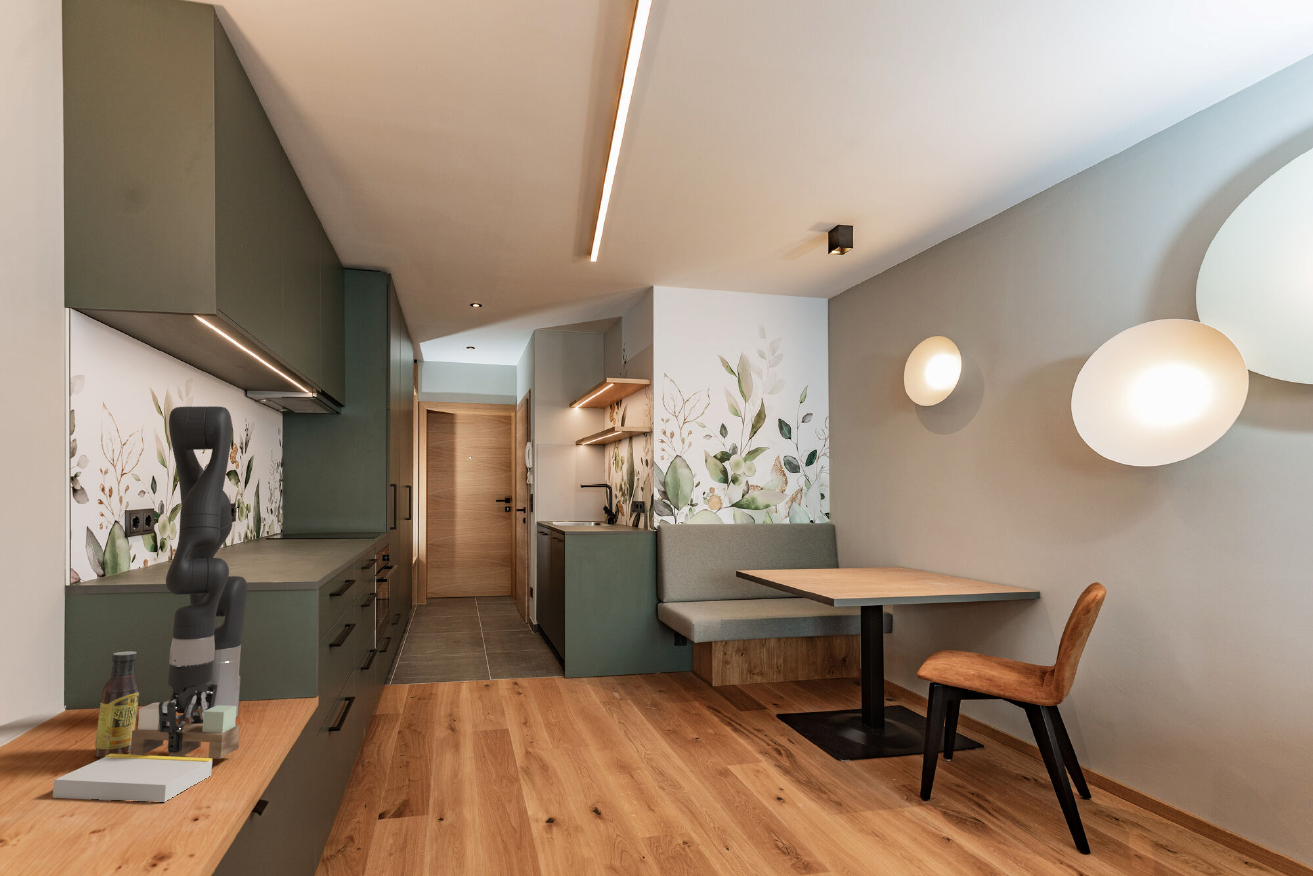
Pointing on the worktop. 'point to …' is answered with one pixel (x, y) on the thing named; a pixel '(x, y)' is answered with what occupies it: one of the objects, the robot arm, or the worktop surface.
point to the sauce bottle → (118, 707)
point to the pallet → (187, 740)
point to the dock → (133, 778)
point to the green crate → (219, 719)
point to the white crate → (149, 717)
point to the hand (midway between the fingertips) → (185, 745)
